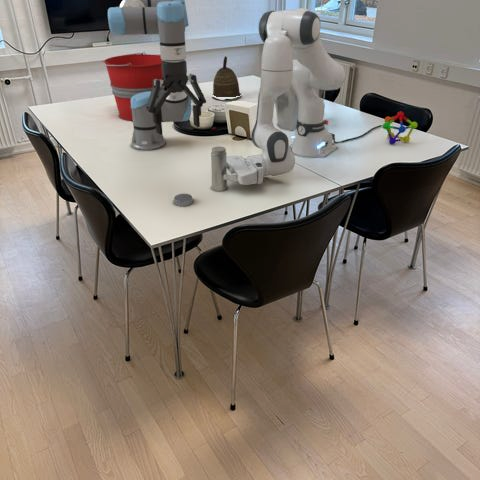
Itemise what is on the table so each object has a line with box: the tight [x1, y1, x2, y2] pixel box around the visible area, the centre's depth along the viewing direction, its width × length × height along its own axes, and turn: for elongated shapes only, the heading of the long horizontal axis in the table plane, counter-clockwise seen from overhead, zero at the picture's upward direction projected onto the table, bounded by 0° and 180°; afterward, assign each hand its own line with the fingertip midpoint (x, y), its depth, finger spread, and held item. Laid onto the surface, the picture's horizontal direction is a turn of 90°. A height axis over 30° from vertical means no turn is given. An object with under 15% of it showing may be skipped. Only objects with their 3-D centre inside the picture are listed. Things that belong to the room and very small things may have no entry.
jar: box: [210, 145, 228, 192], centre depth 163 cm, size 6×6×16 cm
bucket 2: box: [274, 85, 326, 131], centre depth 226 cm, size 30×30×28 cm
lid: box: [173, 193, 193, 207], centre depth 157 cm, size 6×6×2 cm
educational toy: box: [382, 110, 418, 145], centre depth 207 cm, size 16×13×15 cm
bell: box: [212, 56, 242, 97], centre depth 278 cm, size 19×26×20 cm
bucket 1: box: [100, 51, 164, 122], centre depth 241 cm, size 35×35×30 cm
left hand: (178, 129), depth 144 cm, fingers open, 13 cm apart
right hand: (219, 172), depth 164 cm, fingers open, 8 cm apart
